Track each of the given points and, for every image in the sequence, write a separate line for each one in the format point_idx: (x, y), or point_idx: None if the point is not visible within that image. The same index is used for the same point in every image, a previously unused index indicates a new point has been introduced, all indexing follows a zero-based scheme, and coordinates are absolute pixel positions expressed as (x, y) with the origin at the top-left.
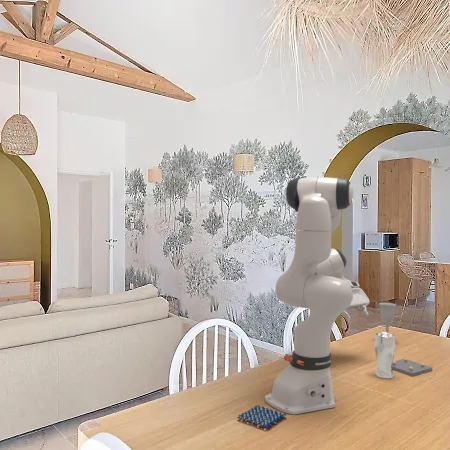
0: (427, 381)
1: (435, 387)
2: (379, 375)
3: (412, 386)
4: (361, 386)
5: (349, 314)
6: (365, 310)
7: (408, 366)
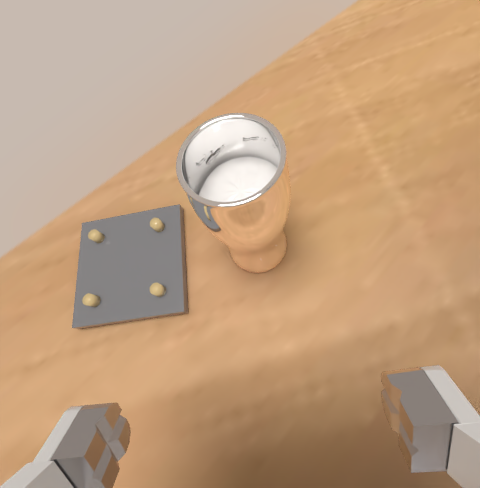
0: None
1: None
2: (285, 236)
3: None
4: (400, 199)
5: (430, 413)
6: (35, 473)
7: (136, 255)
